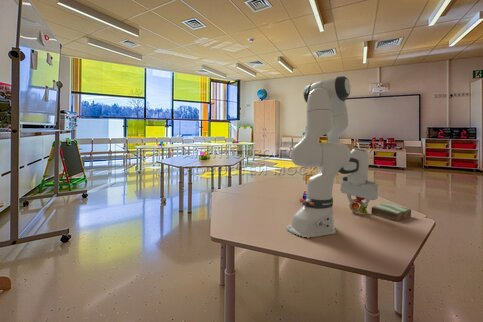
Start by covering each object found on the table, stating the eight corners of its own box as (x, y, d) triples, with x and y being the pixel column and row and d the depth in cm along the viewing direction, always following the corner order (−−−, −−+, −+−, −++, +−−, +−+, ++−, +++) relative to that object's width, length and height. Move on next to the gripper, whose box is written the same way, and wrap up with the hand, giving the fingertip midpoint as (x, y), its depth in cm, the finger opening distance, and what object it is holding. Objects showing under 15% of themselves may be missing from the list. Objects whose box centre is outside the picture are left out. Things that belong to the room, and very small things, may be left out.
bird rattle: (355, 218, 132) (372, 213, 131) (347, 199, 132) (364, 193, 130) (352, 215, 139) (368, 209, 137) (344, 196, 138) (361, 190, 136)
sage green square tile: (396, 221, 122) (396, 213, 122) (371, 214, 133) (371, 206, 133) (410, 216, 128) (411, 209, 128) (385, 210, 140) (386, 203, 139)
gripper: (381, 181, 126) (380, 208, 128) (346, 175, 144) (345, 199, 146) (373, 183, 123) (372, 210, 125) (338, 177, 141) (338, 200, 142)
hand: (357, 204), depth 135 cm, fingers open, 7 cm apart
